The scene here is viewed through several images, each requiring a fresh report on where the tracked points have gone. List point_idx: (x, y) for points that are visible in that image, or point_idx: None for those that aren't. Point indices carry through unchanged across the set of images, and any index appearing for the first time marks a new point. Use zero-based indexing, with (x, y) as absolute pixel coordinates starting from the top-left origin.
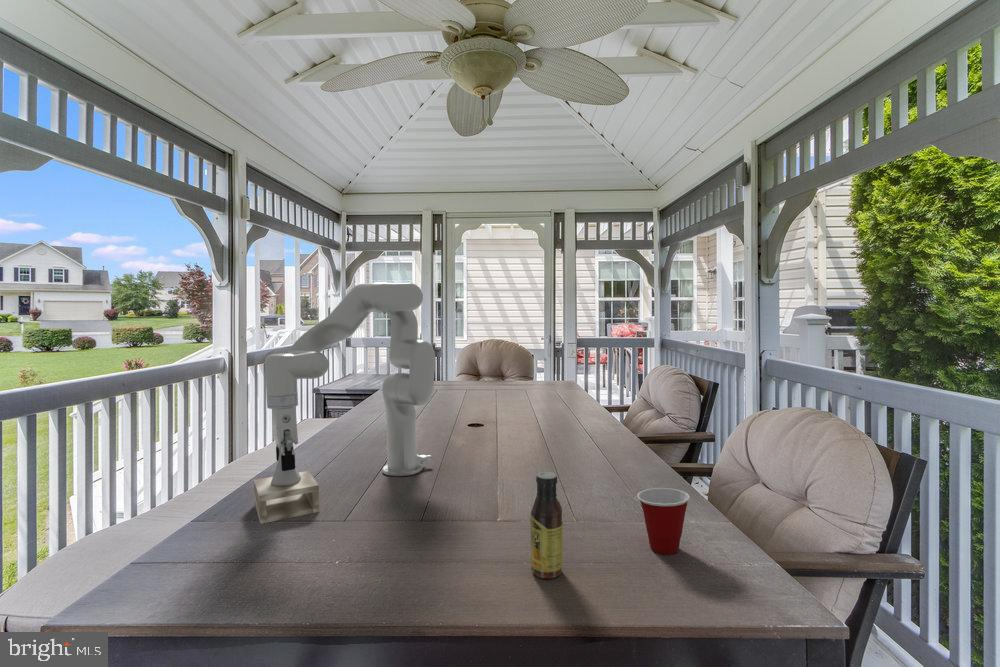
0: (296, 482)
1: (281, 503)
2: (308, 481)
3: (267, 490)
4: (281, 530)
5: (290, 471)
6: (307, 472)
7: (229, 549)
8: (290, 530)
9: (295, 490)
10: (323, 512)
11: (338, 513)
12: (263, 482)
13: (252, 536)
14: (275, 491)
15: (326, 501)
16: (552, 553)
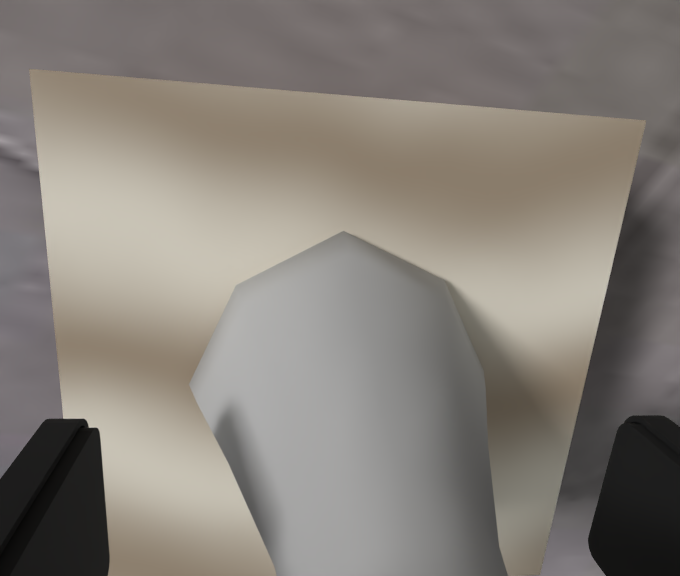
0: (453, 301)
1: None
2: (462, 179)
3: None
4: (621, 368)
5: (476, 411)
6: (104, 100)
7: None
8: (655, 331)
9: (590, 330)
10: (546, 101)
11: (635, 14)
12: (215, 535)
13: (588, 486)
14: (527, 474)
15: (353, 10)
16: None
